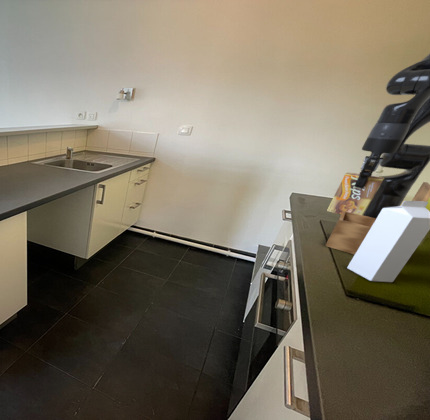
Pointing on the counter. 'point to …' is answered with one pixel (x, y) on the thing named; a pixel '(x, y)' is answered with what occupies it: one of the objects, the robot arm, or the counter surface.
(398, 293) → the counter surface
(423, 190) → the lid
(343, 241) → the bread box
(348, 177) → the candy box
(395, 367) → the counter surface
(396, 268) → the milk
